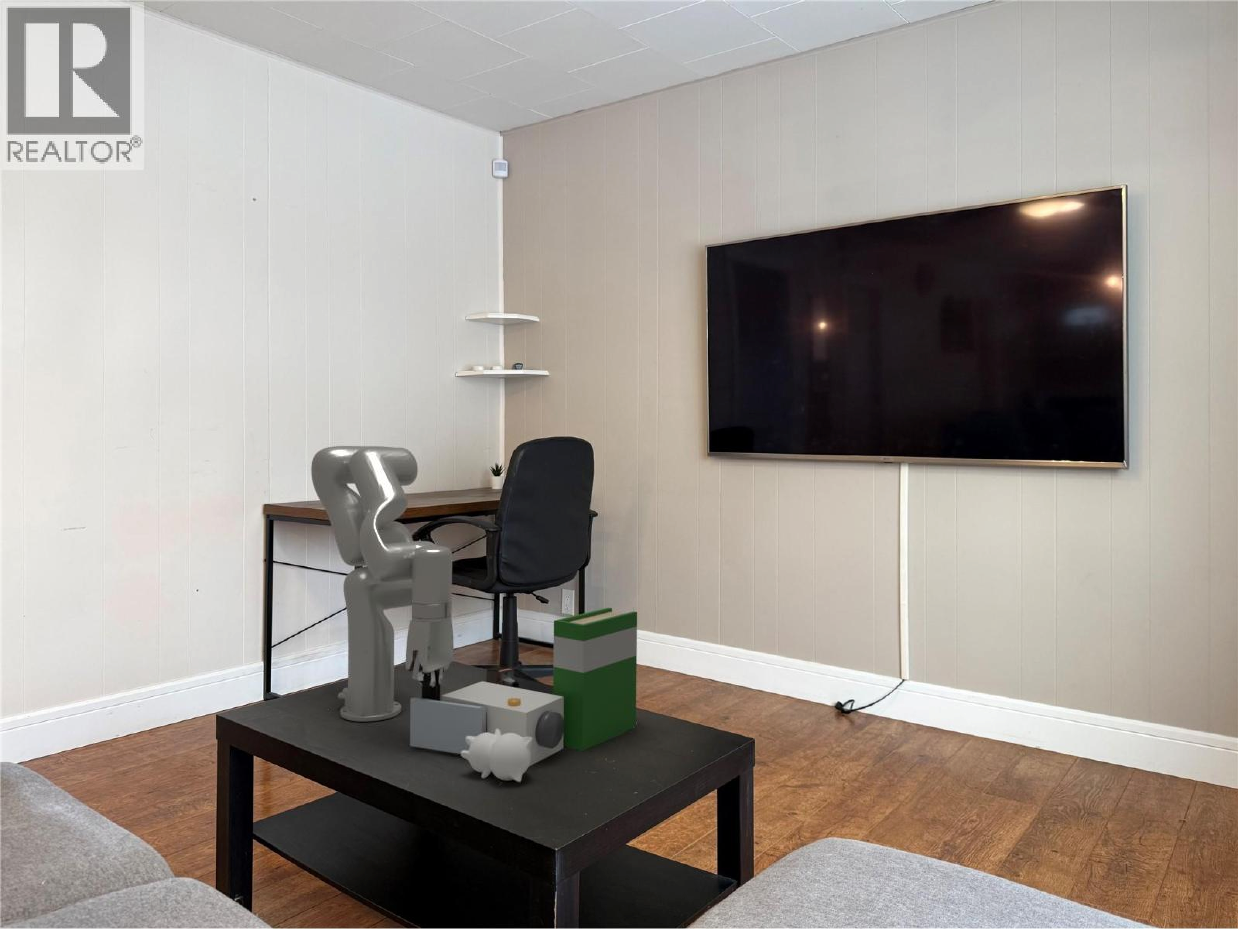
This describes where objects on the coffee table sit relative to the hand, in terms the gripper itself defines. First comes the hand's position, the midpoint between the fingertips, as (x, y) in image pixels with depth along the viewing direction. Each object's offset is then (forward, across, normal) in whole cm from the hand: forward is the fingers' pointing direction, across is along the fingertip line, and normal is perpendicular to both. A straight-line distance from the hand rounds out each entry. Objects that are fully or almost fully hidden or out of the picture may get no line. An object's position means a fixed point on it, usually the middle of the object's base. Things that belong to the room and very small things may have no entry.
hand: (430, 704), depth 171 cm
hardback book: (+8, -18, +27) cm, 33 cm away
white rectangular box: (+8, -3, +14) cm, 16 cm away
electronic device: (+8, -30, -1) cm, 31 cm away
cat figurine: (+8, +8, +20) cm, 23 cm away
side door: (+7, +3, +6) cm, 10 cm away
